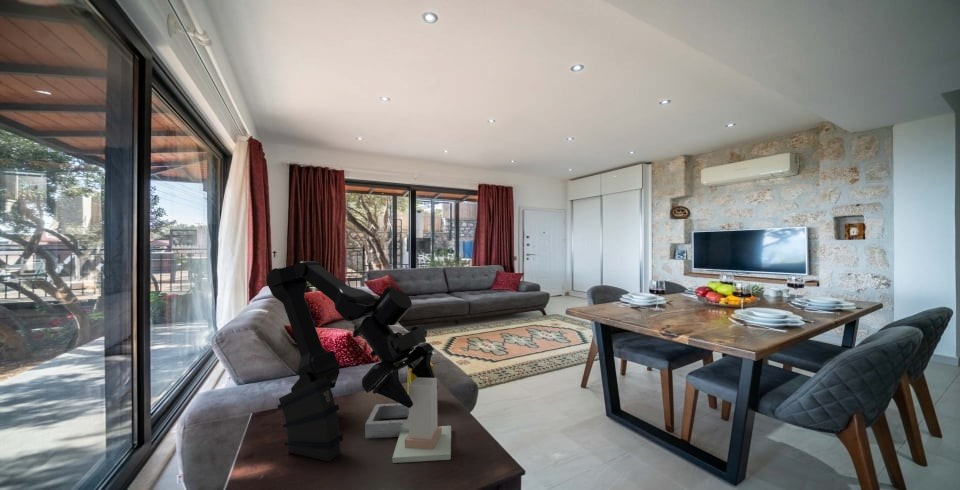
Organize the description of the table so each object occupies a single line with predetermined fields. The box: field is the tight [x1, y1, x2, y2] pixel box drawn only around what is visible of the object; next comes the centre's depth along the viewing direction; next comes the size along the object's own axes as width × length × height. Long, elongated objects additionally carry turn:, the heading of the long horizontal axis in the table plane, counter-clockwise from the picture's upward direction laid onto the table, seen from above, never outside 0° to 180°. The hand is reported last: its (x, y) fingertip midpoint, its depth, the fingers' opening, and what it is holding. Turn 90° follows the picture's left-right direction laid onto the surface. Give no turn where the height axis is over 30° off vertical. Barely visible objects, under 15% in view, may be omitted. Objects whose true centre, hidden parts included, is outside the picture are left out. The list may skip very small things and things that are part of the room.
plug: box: [405, 377, 442, 449], centre depth 70 cm, size 6×6×12 cm
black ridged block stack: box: [277, 376, 344, 462], centre depth 68 cm, size 4×13×15 cm, turn 71°
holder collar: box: [364, 402, 409, 439], centre depth 79 cm, size 10×10×3 cm
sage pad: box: [392, 425, 452, 464], centre depth 70 cm, size 11×11×1 cm
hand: (424, 397), depth 70 cm, fingers open, 9 cm apart
